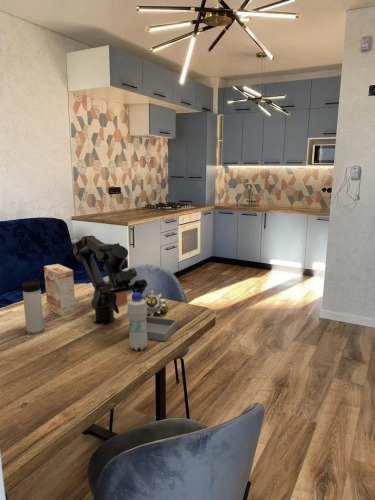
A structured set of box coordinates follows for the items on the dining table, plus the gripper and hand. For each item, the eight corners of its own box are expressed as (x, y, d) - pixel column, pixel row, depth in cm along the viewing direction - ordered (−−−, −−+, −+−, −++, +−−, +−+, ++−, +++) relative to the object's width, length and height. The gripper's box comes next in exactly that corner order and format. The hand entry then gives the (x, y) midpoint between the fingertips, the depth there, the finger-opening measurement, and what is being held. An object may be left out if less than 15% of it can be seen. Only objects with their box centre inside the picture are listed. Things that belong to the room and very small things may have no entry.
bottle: (144, 352, 128) (143, 296, 124) (126, 351, 129) (123, 295, 125) (150, 344, 134) (149, 290, 130) (132, 342, 136) (130, 289, 132)
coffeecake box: (46, 307, 171) (43, 266, 167) (61, 304, 176) (58, 263, 172) (60, 317, 160) (57, 272, 156) (76, 312, 165) (73, 269, 161)
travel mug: (48, 329, 148) (44, 279, 144) (35, 335, 142) (30, 284, 138) (36, 326, 150) (31, 278, 146) (23, 332, 144) (18, 282, 140)
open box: (130, 336, 141) (129, 329, 140) (146, 322, 153) (146, 315, 153) (164, 341, 136) (164, 334, 135) (178, 327, 149) (178, 319, 148)
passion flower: (152, 328, 162) (135, 309, 156) (148, 314, 171) (133, 296, 166) (173, 313, 161) (158, 294, 156) (169, 300, 171) (154, 282, 166)
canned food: (119, 297, 185) (118, 273, 182) (132, 303, 177) (131, 278, 174) (98, 302, 177) (97, 278, 175) (111, 309, 169) (109, 283, 167)
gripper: (96, 265, 129) (111, 304, 123) (144, 257, 140) (160, 293, 133) (89, 282, 137) (103, 320, 131) (135, 274, 148) (150, 308, 141)
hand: (130, 310), depth 134 cm, fingers open, 9 cm apart
